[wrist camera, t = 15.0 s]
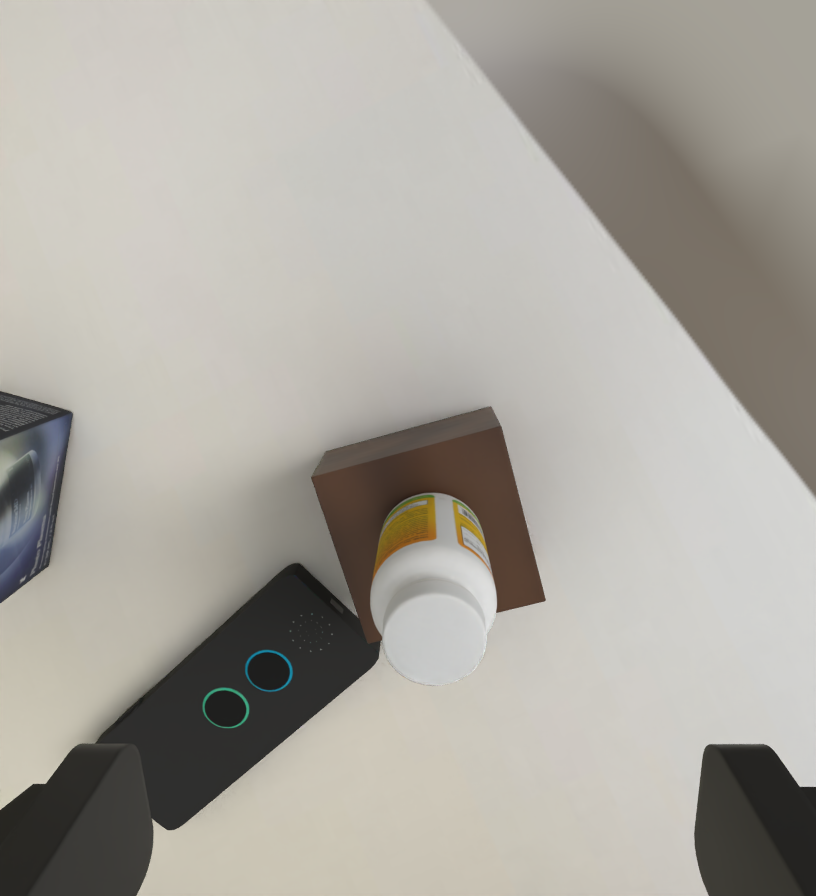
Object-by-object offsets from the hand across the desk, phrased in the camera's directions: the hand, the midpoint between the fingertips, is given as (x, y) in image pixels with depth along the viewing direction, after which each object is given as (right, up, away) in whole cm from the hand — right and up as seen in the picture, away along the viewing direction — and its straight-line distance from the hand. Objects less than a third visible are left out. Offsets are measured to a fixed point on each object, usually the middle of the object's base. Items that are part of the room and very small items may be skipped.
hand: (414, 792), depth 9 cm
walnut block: (+1, +1, +29) cm, 29 cm away
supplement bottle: (+1, 0, +24) cm, 25 cm away
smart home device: (-11, -11, +33) cm, 37 cm away
